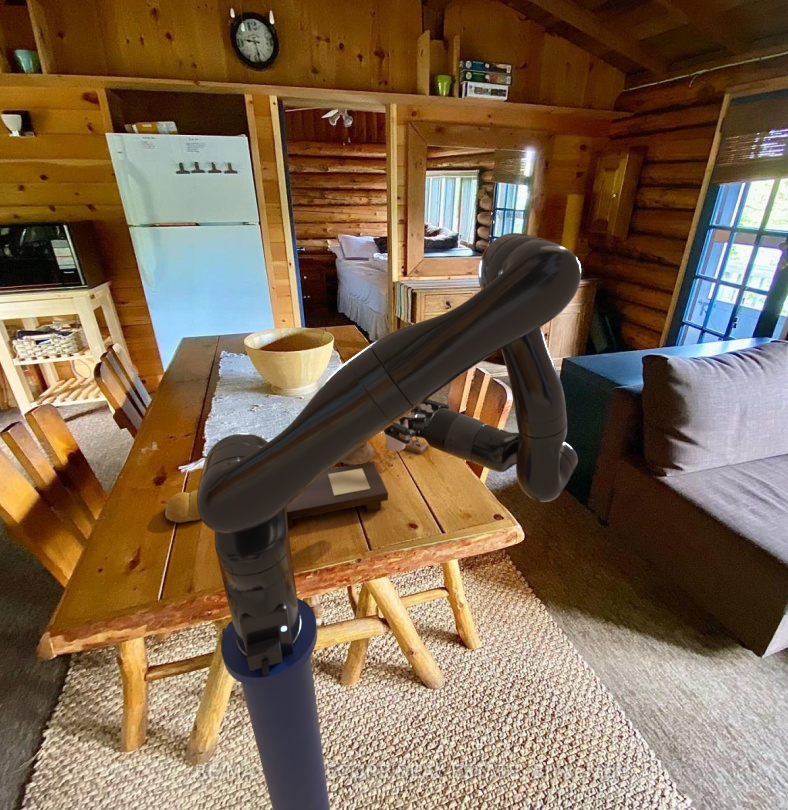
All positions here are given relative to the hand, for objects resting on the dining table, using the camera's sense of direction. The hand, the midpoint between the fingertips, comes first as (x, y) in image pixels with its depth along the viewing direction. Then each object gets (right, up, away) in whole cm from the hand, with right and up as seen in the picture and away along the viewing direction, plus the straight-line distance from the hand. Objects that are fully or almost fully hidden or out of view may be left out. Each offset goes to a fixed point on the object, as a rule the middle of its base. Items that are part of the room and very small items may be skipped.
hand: (387, 407), depth 87 cm
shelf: (-13, -20, +7) cm, 25 cm away
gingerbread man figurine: (+4, -10, +28) cm, 30 cm away
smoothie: (+2, -8, +2) cm, 9 cm away
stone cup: (-11, -12, +24) cm, 29 cm away
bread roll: (-41, -21, +4) cm, 46 cm away
